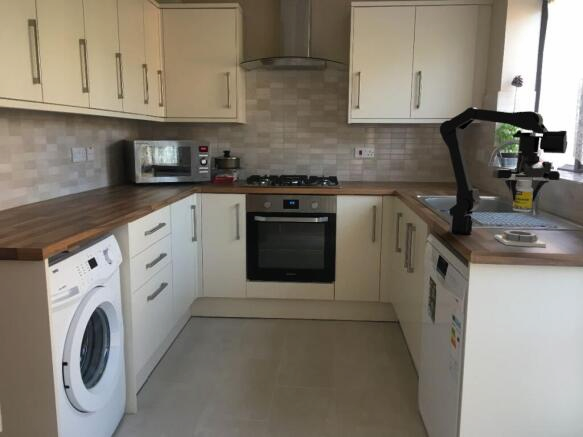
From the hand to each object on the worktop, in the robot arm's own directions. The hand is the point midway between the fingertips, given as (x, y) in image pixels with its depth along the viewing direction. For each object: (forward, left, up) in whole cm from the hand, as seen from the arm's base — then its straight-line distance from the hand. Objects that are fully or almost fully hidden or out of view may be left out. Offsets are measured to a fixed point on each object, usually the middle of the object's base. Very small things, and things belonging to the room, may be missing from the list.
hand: (522, 201), depth 150 cm
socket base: (0, -1, -13) cm, 13 cm away
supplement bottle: (0, 0, -3) cm, 3 cm away
